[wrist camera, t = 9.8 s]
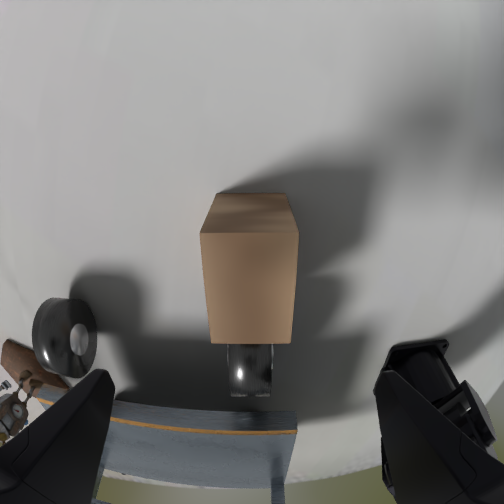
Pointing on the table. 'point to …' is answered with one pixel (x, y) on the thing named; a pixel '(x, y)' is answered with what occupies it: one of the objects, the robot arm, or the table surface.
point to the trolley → (175, 415)
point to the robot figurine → (21, 386)
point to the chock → (250, 268)
